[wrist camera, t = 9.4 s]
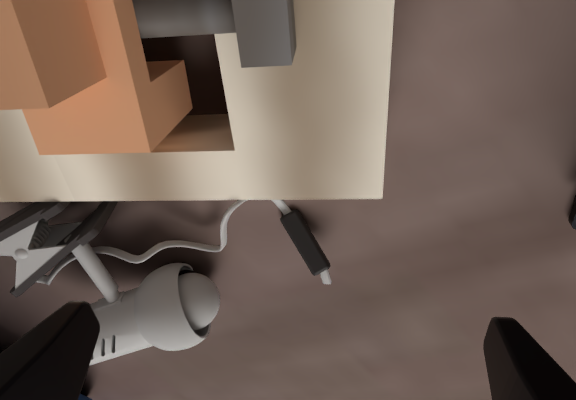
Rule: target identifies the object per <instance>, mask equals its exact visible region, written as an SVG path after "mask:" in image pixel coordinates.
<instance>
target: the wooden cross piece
mask: <svg viewBox="0 0 576 400" xmlns="http://www.w3.org/2000/svg"><path fill="white" fill-rule="evenodd" d="M192 108H193V107H192V102H191V96H190V91H189V85H188V80H187V74H186V69H185V64H184V60H171V61H152V62H146V60H145V55H144V51H143V46H142V42H141V38H140V33H139V29H138V24H137V20H136V16H135V11H134V7H133V2H132V0H0V110H16V109H22V111H23V114H24V116H25V119H26V121H27V124H28V127H29V129H30V132H31V134H32V137H33V140H34V142H35V145H36V147H37V150H38V152H39V155H66V154H110V153H151V152H152V151H153V150H154V149H155V147H156V146H157V145H158V144H159V143H160V142H161V141H162V140H163V139H164V138H165V137H166V136H167V135H168V134H169V133H170V132H171V131H172V130H173V128H174V127H175V126H176V125H177V124H178V123H179V122H180V121H181V120H182V119H183V118H184V117H185V116H186V115H187V114H188V113H189V112H190V111H191V109H192Z"/></svg>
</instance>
